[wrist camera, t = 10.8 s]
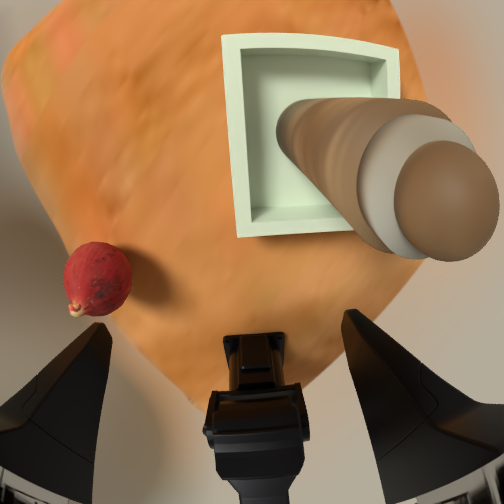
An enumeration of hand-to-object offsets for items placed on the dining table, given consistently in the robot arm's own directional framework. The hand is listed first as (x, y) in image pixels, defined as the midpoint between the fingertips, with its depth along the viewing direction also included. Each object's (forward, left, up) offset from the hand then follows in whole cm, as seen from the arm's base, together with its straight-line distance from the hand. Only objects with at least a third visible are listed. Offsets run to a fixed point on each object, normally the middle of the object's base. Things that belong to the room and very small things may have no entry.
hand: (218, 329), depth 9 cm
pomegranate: (-4, +11, -13) cm, 18 cm away
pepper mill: (+5, -6, -12) cm, 14 cm away
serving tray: (+5, -6, -13) cm, 15 cm away
